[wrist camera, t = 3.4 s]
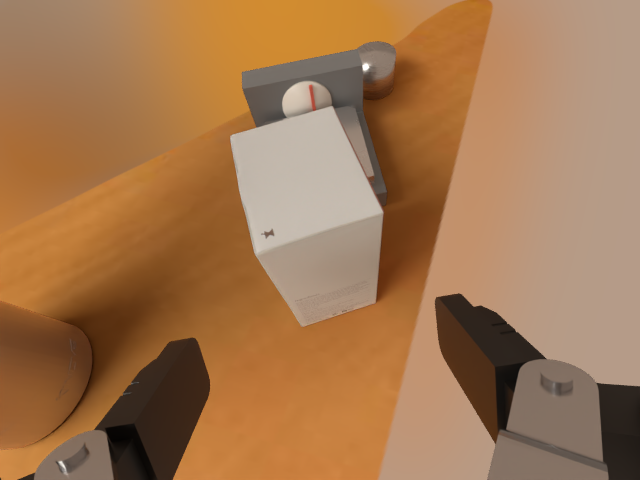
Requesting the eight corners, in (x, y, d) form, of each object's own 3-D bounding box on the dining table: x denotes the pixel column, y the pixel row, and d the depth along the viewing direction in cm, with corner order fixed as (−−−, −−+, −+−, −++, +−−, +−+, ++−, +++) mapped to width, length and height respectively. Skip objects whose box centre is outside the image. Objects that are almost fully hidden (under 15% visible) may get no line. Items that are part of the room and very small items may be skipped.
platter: (272, 203, 29) (269, 195, 28) (266, 131, 33) (263, 122, 32) (373, 184, 29) (374, 175, 28) (354, 114, 33) (354, 104, 32)
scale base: (269, 226, 31) (245, 178, 25) (262, 129, 37) (241, 72, 31) (385, 205, 30) (391, 150, 24) (358, 110, 37) (357, 49, 31)
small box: (377, 304, 26) (388, 214, 15) (301, 329, 26) (251, 257, 14) (345, 222, 30) (333, 101, 19) (278, 243, 30) (225, 134, 18)
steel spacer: (358, 103, 37) (358, 70, 34) (351, 79, 39) (350, 46, 36) (397, 95, 37) (400, 62, 34) (388, 72, 39) (390, 38, 36)
